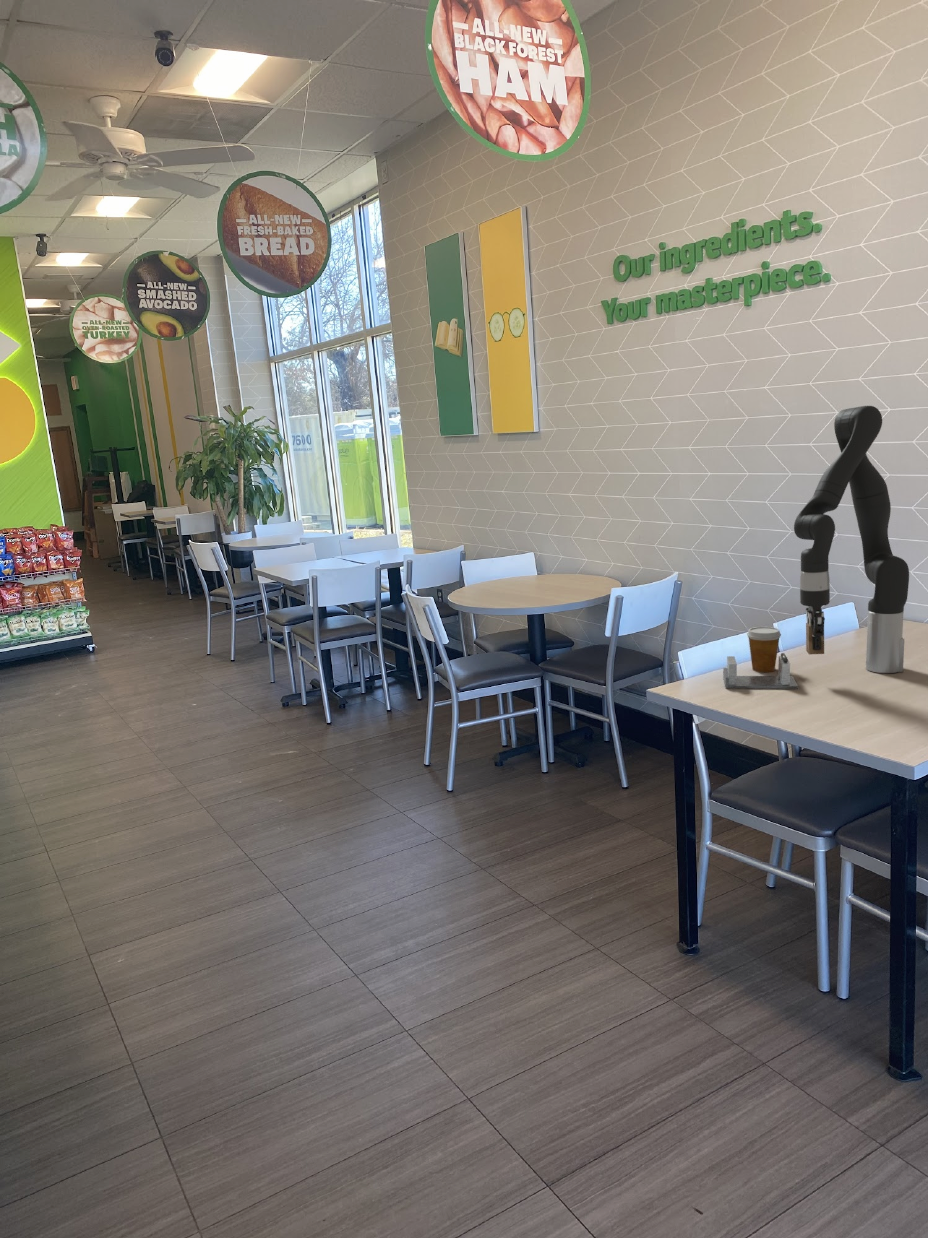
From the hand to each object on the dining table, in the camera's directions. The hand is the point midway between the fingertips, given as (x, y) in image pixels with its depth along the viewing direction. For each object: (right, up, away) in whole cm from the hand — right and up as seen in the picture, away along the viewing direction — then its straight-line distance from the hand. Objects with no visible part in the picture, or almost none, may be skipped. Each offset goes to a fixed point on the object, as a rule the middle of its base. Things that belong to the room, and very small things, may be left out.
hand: (815, 647), depth 249 cm
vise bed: (-14, -10, +4) cm, 18 cm away
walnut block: (0, -1, 0) cm, 1 cm away
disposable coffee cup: (-9, -7, +17) cm, 21 cm away
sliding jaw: (-8, -10, +2) cm, 13 cm away
